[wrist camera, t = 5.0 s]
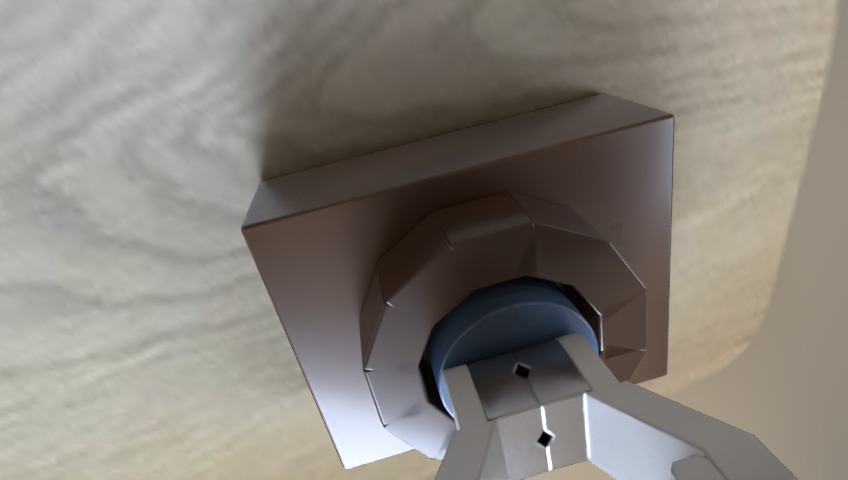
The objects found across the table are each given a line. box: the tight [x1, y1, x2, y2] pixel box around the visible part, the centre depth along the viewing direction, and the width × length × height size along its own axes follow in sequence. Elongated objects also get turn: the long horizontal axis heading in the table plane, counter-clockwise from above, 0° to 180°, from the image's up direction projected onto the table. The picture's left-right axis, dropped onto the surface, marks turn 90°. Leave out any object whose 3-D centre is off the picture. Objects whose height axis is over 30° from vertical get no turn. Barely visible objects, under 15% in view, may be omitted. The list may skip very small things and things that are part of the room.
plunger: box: [426, 276, 598, 418], centre depth 11 cm, size 4×4×2 cm
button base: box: [241, 93, 674, 470], centre depth 13 cm, size 10×8×5 cm
